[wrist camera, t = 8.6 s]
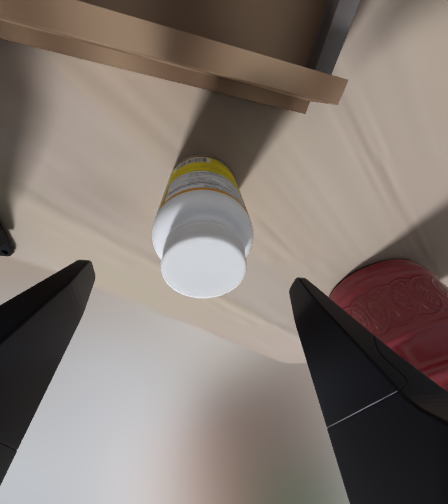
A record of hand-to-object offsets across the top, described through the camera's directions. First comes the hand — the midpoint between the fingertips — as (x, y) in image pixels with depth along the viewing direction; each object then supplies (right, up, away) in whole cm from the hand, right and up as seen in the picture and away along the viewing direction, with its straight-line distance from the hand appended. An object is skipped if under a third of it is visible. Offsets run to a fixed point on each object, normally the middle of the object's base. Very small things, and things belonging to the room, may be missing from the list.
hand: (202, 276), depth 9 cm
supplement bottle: (-1, +7, +8) cm, 11 cm away
